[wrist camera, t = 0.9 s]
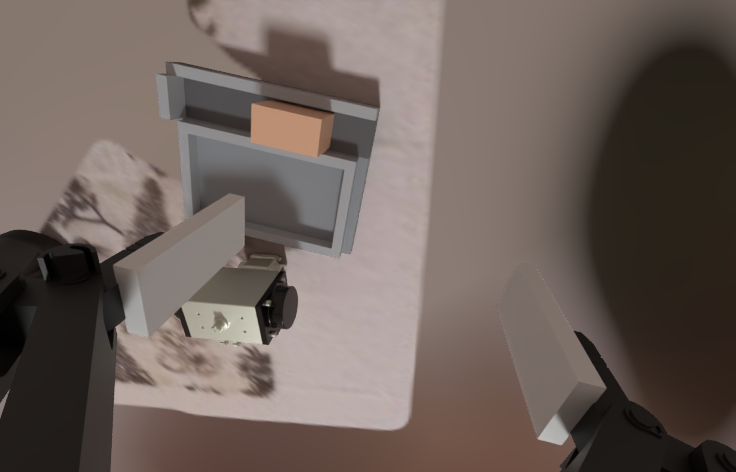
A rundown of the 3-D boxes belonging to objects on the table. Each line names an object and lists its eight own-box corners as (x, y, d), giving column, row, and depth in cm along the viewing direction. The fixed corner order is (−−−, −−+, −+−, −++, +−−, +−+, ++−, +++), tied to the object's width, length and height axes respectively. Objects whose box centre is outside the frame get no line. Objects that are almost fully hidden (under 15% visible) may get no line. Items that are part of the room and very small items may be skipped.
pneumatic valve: (221, 245, 41) (151, 305, 30) (311, 251, 39) (270, 316, 29) (229, 282, 43) (168, 350, 33) (315, 288, 42) (279, 362, 31)
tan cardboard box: (271, 133, 32) (250, 142, 28) (273, 99, 31) (251, 103, 27) (329, 147, 32) (317, 157, 28) (334, 113, 31) (321, 119, 27)
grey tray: (191, 210, 39) (170, 222, 36) (181, 62, 32) (154, 61, 29) (352, 249, 38) (346, 265, 35) (380, 107, 31) (375, 111, 28)
